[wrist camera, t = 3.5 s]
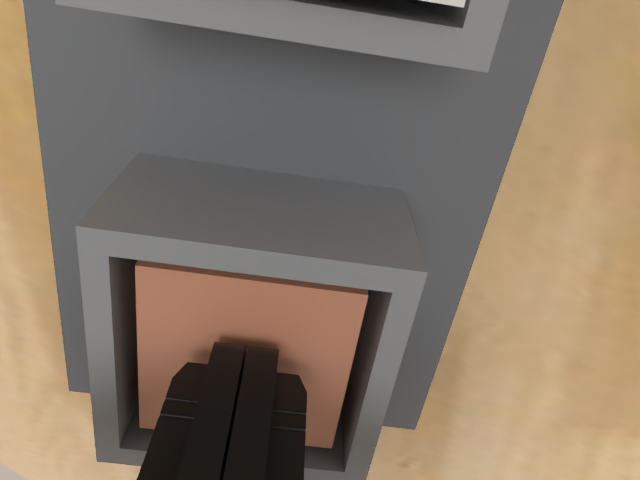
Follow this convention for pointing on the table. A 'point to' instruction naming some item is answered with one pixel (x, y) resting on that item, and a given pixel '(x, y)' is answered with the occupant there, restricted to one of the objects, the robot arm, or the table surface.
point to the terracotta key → (247, 332)
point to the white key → (449, 2)
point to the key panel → (277, 173)
